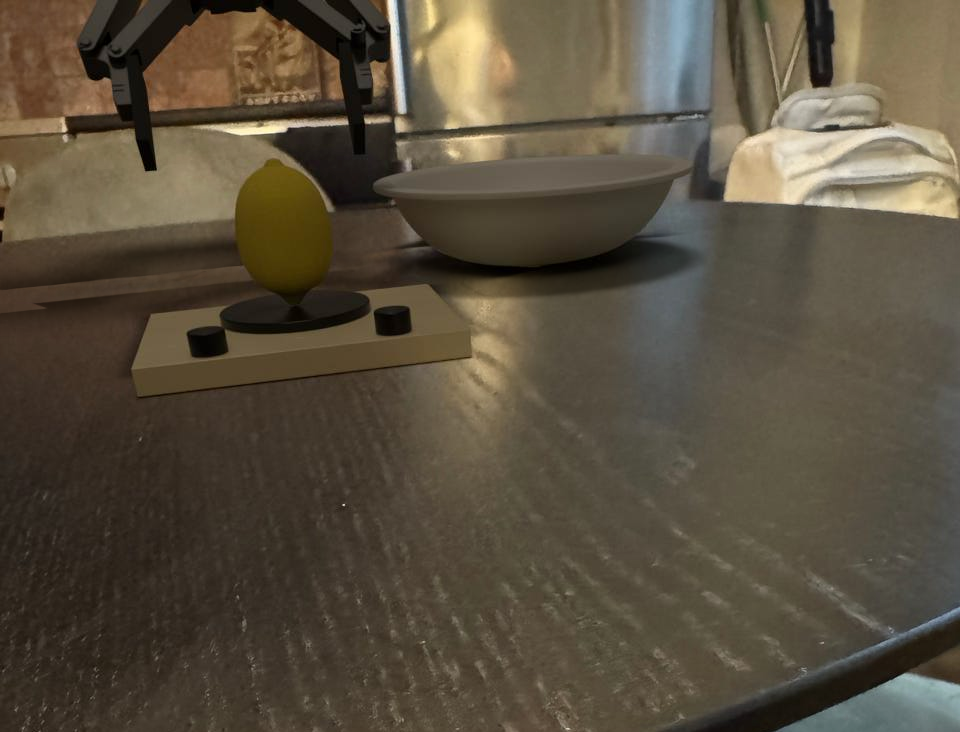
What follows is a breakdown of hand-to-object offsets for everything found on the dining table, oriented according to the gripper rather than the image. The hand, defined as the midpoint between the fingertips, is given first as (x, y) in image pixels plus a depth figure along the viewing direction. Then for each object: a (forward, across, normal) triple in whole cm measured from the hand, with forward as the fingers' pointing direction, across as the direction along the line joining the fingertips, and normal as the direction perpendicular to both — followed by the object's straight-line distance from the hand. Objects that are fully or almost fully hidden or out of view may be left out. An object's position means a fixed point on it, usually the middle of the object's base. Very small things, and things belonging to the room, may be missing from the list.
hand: (254, 148), depth 64 cm
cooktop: (+15, +1, -1) cm, 15 cm away
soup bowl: (+2, +20, +12) cm, 24 cm away
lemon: (+13, +1, -1) cm, 13 cm away
